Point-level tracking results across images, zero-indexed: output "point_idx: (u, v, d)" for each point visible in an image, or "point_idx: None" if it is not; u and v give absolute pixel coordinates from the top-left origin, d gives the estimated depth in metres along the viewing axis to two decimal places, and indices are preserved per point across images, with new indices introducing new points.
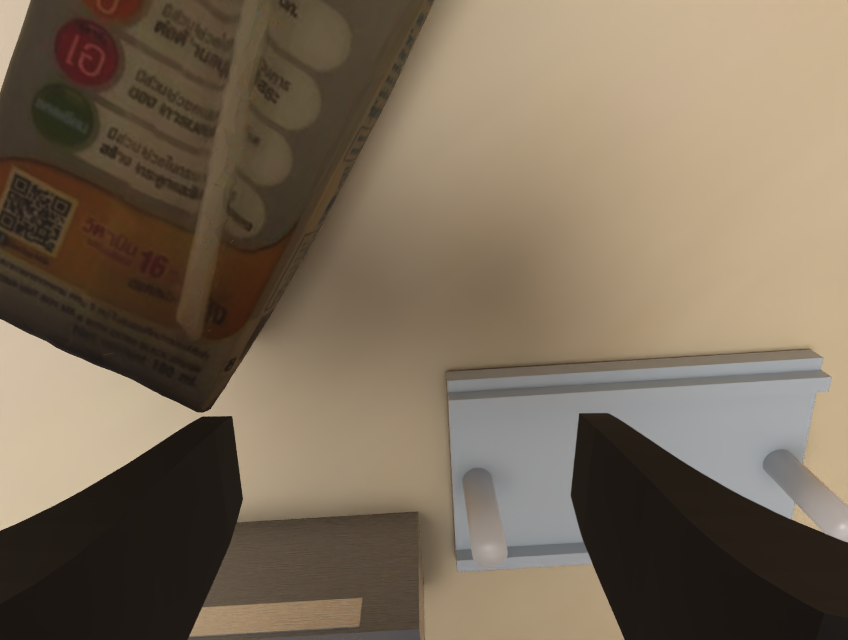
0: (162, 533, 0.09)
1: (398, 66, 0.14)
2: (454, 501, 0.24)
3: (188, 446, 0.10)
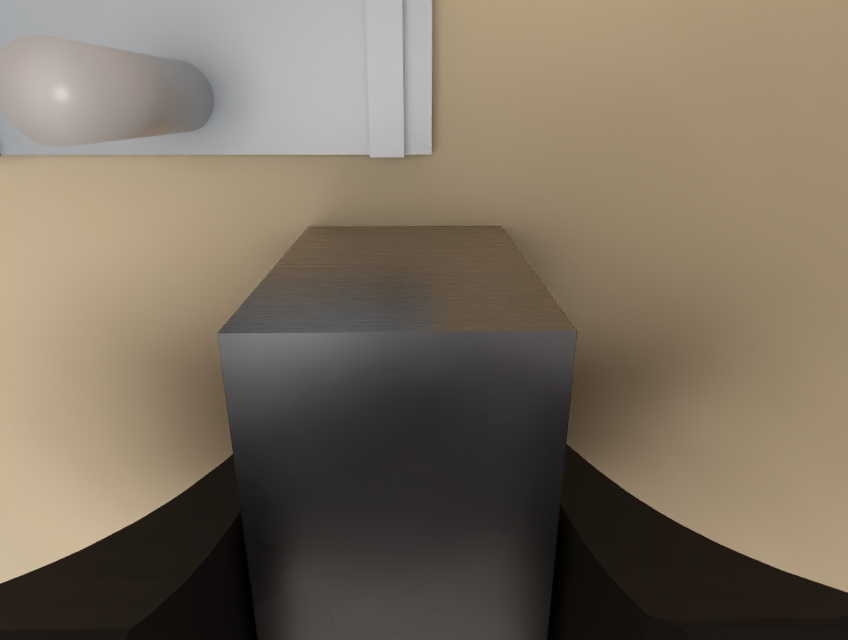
0: None
1: None
2: (239, 152, 0.11)
3: None
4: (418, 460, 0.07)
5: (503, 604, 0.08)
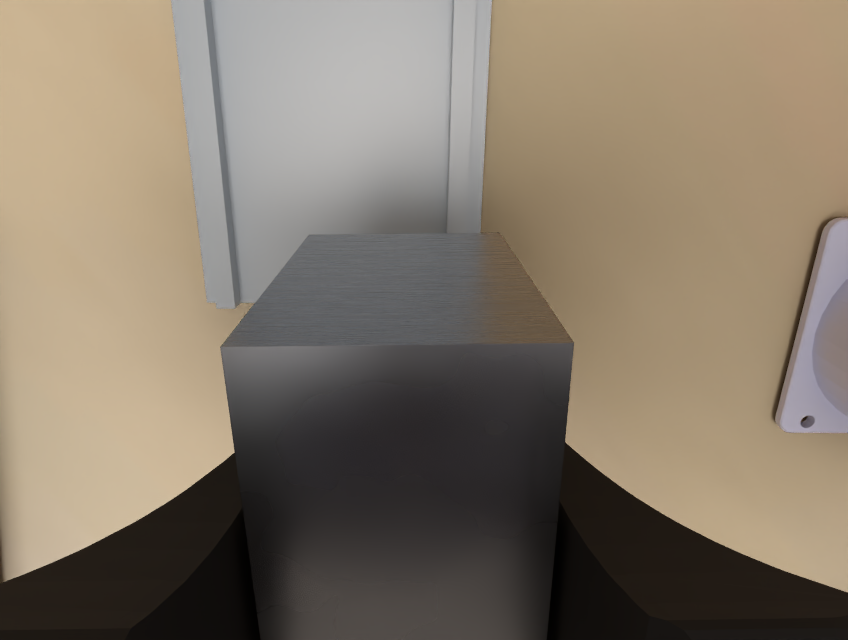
0: None
1: None
2: None
3: None
4: (417, 470, 0.07)
5: (503, 609, 0.08)
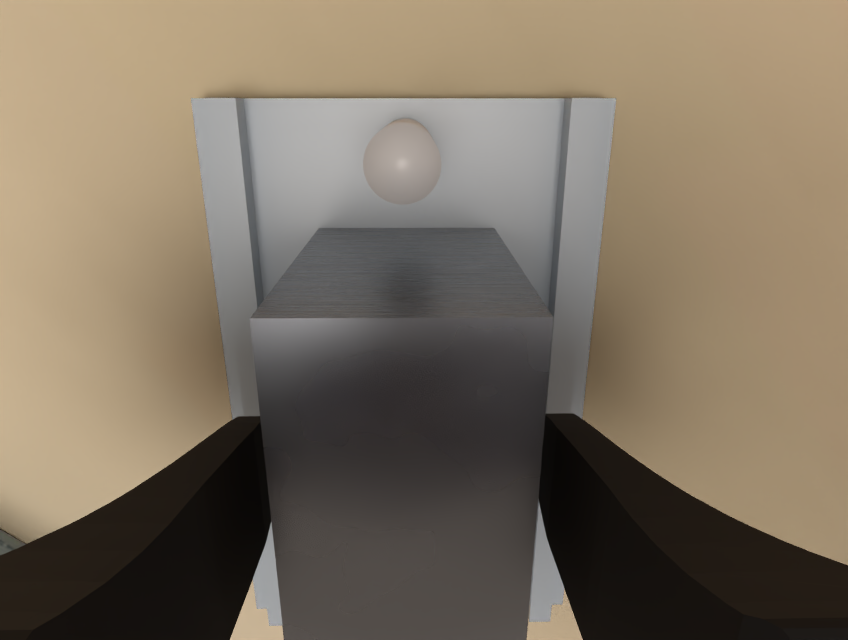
0: (209, 533, 0.09)
1: None
2: None
3: (230, 446, 0.10)
4: (417, 429, 0.08)
5: (492, 556, 0.09)
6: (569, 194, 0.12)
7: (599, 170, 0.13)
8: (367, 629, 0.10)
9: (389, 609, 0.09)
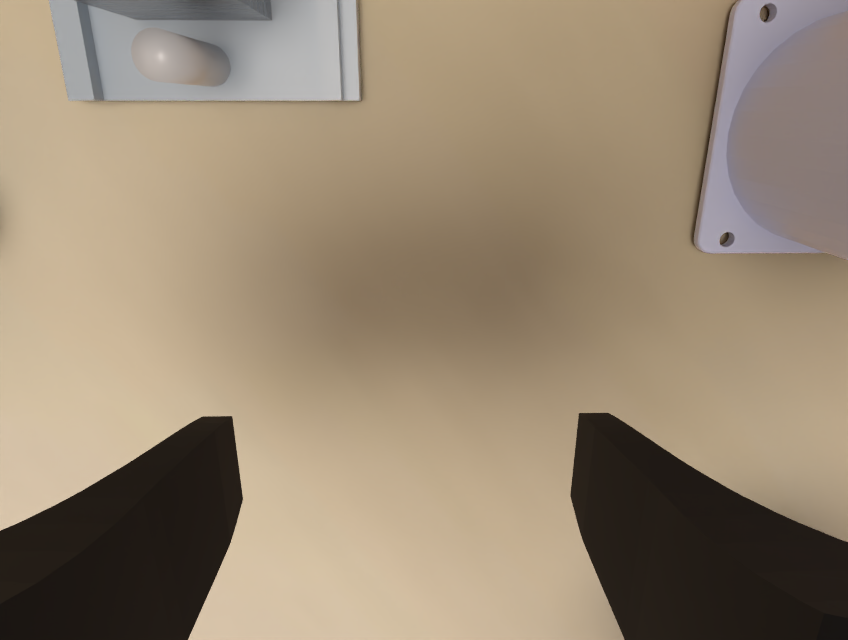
0: (162, 533, 0.09)
1: None
2: (245, 99, 0.18)
3: (188, 446, 0.10)
4: None
5: None
6: None
7: None
8: None
9: None
